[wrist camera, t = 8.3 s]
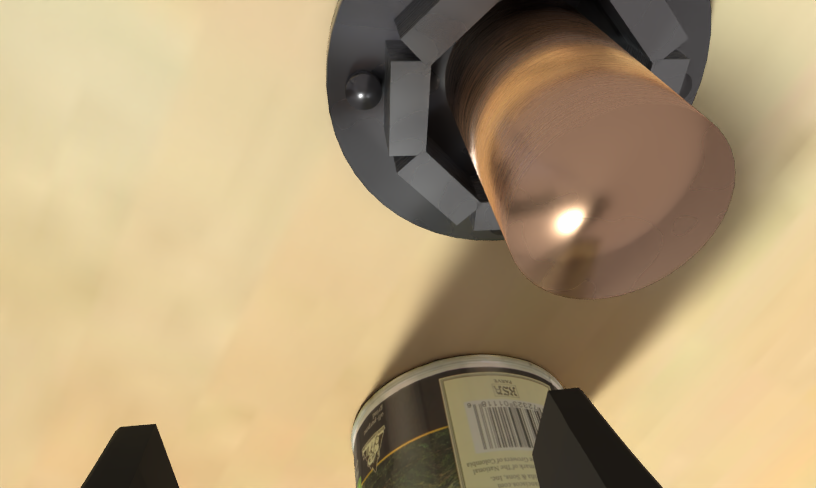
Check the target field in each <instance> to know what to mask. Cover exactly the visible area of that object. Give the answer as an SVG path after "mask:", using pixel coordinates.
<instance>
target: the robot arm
mask: <svg viewBox="0 0 816 488" xmlns="http://www.w3.org/2000/svg"><path fill="white" fill-rule="evenodd" d="M532 456H533V461H534V465H535V469H536V474H537V478H538V482H539V487H540V488H663V487H662V486H661V485H660V484H659V483H658V482H657V481H656V480H655V478H654V477H653V476H652V475H651V474H650V473H649V472H648V470H647V469H646V468H645V467H644V466H643V465H642V464H641V462H640V461H639V460H638V459H637V458H636V457H635V455H634V454H633V453H632V452H631V451H630V449H629V448H628V447H627V446H626V445H625V443H624V442H623V441H622V440H621V439H620V437H619V436H618V435H617V434H616V433H615V431H614V430H613V429H612V428H611V426H610V425H609V424H608V423H607V421H606V420H605V419H604V418H603V416H602V415H601V414H600V413H599V411H598V410H597V409H596V408H595V406H594V405H593V404H592V403H591V401H590V400H589V399H588V398H587V396H586V395H585V394H584V392H583V391H582V390H580V389H579V388H571V389H559V390H548V392H547V396H546V400H545V404H544V408H543V412H542V416H541V420H540V424H539V428H538V432H537V436H536V440H535V444H534V448H533V452H532ZM81 488H179V486H178V483H177V480H176V478H175V475H174V472H173V469H172V467H171V464H170V461H169V459H168V456H167V453H166V450H165V448H164V445H163V442H162V439H161V437H160V434H159V431H158V429H157V426H156V424H150V425H139V426H127V427H120V428H119V429H118V430H116V431H115V433H114V434H113V436H112V438H111V439H110V441H109V443H108V444H107V446H106V448H105V449H104V451H103V453H102V454H101V456H100V457H99V459H98V461H97V462H96V464H95V466H94V467H93V469H92V470H91V472H90V474H89V475H88V477H87V478H86V480H85V482H84V483H83V485H82V486H81Z"/></svg>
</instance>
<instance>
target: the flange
mask: <svg viewBox="0 0 816 488" xmlns="http://www.w3.org/2000/svg"><path fill="white" fill-rule="evenodd" d="M500 1H502V0H338V3H337V7H336V10H335V14H334V17H333V20H332V24H331V28H330V34H329V41H328V47H327V63H326V87H327V96H328V105H329V113H330V116H331V120H332V124H333V128H334V132H335V135H336V138H337V140H338V142H339V145H340V147H341V150H342V152H343V154H344V156H345V158H346V160H347V161H348V163H349V165H350V166H351V168H352V170H353V171H354V173H355V175H356V176H357V177H358V178H359V180H360V181H361V182H362V183H363V185H364V186H365V187H366V188H367V190H368V191H369V192H370V193H371V194H373V195H374V196H375V197H376V198H377V199H378V200H379V201H380V202H381V203H382V204H383V205H385V206H386V207H387V208H389V209H390V210H392V211H393V212H394V213H396V214H397V215H399V216H400V217H402V218H404V219H406V220H408V221H409V222H411V223H413V224H415V225H417V226H419V227H422V228H425V229H427V230H430V231H433V232H435V233H439V234H443V235H447V236H451V237H455V238H462V239H470V240H505V238H504V236H503V234H502V231H501V229H500V226H499V224H498V222H497V219H496V217H495V215H494V212H493V210H492V207H491V205H490V203H489V200H488V198H487V196H486V193H485V191H484V188H483V186H482V184H481V181H480V179H479V176H478V174H477V172H476V169H475V167H474V165H473V162H472V160H471V157H470V155H469V153H468V150H467V148H466V146H465V143H464V141H463V138H462V136H461V134H460V131H459V129H458V127H457V124H456V122H455V119H454V117H453V115H452V112H451V110H450V107H449V105H448V102H447V98H446V93H445V71H446V65H447V62H448V58H449V55H450V53H451V50H452V48H453V46H454V44H455V42H456V41H457V40H458V39H459V38H460V37H461V36H462V35H464V34H465V33H466V32H467V31H468V30H469V29H470V28H471V27H472V26H473V25H474V24H475V23H476V22H477V21H478V20H479V19H480V18H482V17H483V16H484V15H485V14H486V13H487V12H488V11H489V10H490V9H491V8H492V7H493V6H494V5H495V4H496V3H498V2H500ZM562 1H564V2H566V3H568V4H569V5H571V6H572V7H574V8H575V9H576V10H577V11H579V12H580V13H581V14H582V15H583V16H585V17H586V18H587V19H588V20H589V21H591V22H592V23H593V24H594V25H595V26H597V27H598V28H599V29H600V30H601V31H603V32H604V33H605V34H606V35H607V36H609V37H610V38H611V39H612V40H613V41H615V42H616V43H617V44H618V45H619V46H621V47H622V48H623V49H624V50H625V51H627V52H628V53H629V54H630V55H631V56H633V57H634V58H635V59H636V60H637V61H639V62H640V63H641V64H642V65H643V66H645V67H646V68H647V69H648V70H649V71H651V72H652V73H653V74H654V75H655V76H657V77H658V78H659V79H660V80H661V81H663V82H664V83H665V84H666V85H667V86H669V87H670V88H671V89H672V90H673V91H675V92H676V93H677V94H678V95H679V96H681V97H682V98H683V99H684V100H685V101H687V102H688V103H689V104H690V105H691V106H692V103H693V101H694V98H695V96H696V93H697V91H698V88H699V86H700V83H701V79H702V76H703V72H704V69H705V65H706V61H707V56H708V49H709V43H710V36H711V4H710V0H562Z"/></svg>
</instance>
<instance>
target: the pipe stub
mask: <svg viewBox="0 0 816 488" xmlns="http://www.w3.org/2000/svg"><path fill="white" fill-rule="evenodd" d="M445 93H446V98H447V102H448V105H449V107H450V110H451V112H452V115H453V117H454V119H455V122H456V124H457V127H458V129H459V131H460V134H461V136H462V138H463V141H464V143H465V146H466V148H467V150H468V153H469V155H470V157H471V160H472V162H473V165H474V167H475V169H476V172H477V174H478V176H479V179H480V181H481V184H482V186H483V188H484V191H485V193H486V196H487V198H488V200H489V203H490V205H491V207H492V210H493V212H494V215H495V217H496V219H497V222H498V224H499V226H500V229H501V231H502V234H503V236H504V238H505V241H506V243H507V245H508V248H509V250H510V253H511V255H512V257H513V260H514V262H515V263H516V265H517V267H518V268H519V270H520V271H521V272H522V273H523V274H524V275H525V276H526V278H527V279H529V280H530V281H531V282H532V283H534V284H535V285H536V286H538V287H540V288H542V289H544V290H545V291H548V292H550V293H553V294H556V295H559V296H563V297H567V298H575V299H601V298H609V297H614V296H619V295H623V294H626V293H630V292H633V291H636V290H638V289H641V288H644V287H646V286H648V285H650V284H652V283H655V282H657V281H659V280H660V279H662V278H664V277H665V276H667V275H669V274H671V273H672V272H673V271H675V270H676V269H678V268H679V267H681V266H682V265H683V264H684V263H686V262H687V261H688V260H689V259H690V258H692V257H693V256H694V255H695V254H696V253H697V252H698V251H699V250H700V249H701V248H702V247H703V246H704V245H705V243H706V242H707V241H708V240H709V239H710V237H711V236H712V235H713V233H714V232H715V230H716V229H717V227H718V226H719V224H720V223H721V221H722V219H723V217H724V215H725V213H726V211H727V209H728V206H729V203H730V201H731V198H732V194H733V189H734V184H735V164H734V158H733V154H732V151H731V148H730V146H729V144H728V142H727V140H726V138H725V137H724V135H723V134H722V133H721V131H720V130H719V129H718V128H717V127H716V126H715V125H714V124H713V123H712V122H711V121H709V120H708V119H707V118H706V117H705V116H703V115H702V114H701V113H700V112H699V111H697V110H696V109H695V108H694V107H693V106H691V105H690V104H689V103H688V102H687V101H685V100H684V99H683V98H682V97H681V96H679V95H678V94H677V93H676V92H675V91H673V90H672V89H671V88H670V87H669V86H667V85H666V84H665V83H664V82H663V81H661V80H660V79H659V78H658V77H657V76H655V75H654V74H653V73H652V72H651V71H649V70H648V69H647V68H646V67H645V66H643V65H642V64H641V63H640V62H639V61H637V60H636V59H635V58H634V57H633V56H631V55H630V54H629V53H628V52H627V51H625V50H624V49H623V48H622V47H621V46H619V45H618V44H617V43H616V42H615V41H613V40H612V39H611V38H610V37H609V36H607V35H606V34H605V33H604V32H603V31H601V30H600V29H599V28H598V27H597V26H595V25H594V24H593V23H592V22H591V21H589V20H588V19H587V18H586V17H585V16H583V15H582V14H581V13H580V12H579V11H577V10H576V9H575V8H574V7H572V6H571V5H569V4H568V3H566V2H564V1H562V0H502V1H500V2H498V3H496V4H495V5H494V6H493V7H492V8H491V9H490V10H489V11H488V12H487V13H486V14H485V15H484V16H483V17H482V18H480V19H479V20H478V21H477V22H476V23H475V24H474V25H473V26H472V27H471V28H470V29H469V30H468V31H467V32H466V33H465V34H464V35H462V36H461V37H460V38H459V39H458V40H457V41H456V42H455V44H454V46H453V48H452V50H451V53H450V55H449V58H448V62H447V65H446V71H445Z"/></svg>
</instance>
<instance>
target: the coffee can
mask: <svg viewBox="0 0 816 488" xmlns="http://www.w3.org/2000/svg"><path fill="white" fill-rule="evenodd" d="M559 389H563V387H562V386H561V384H560V383H559V382H558V381H557V380H556V378H555V377H553V376H552V375H551V374H550V373H549V372H547V371H546V370H544V369H543V368H541V367H539V366H537V365H535V364H533V363H530V362H528V361H525V360H521V359H516V358H511V357H507V356H499V355H467V356H458V357H453V358H448V359H442V360H437V361H434V362H432V363H430V364H427V365H424V366H420V367H418V368H415V369H412V370H411V371H409V372H407V373H404V374H402V375H400V376H398V377H397V378H395V379H393V380H392V381H390V382H389V383H387V384H386V385H385V386H383V387H382V388H381V389H379V390H378V391H377V392H376V393H375V394H374V395H373V396H372V397H371V398H370V399H369V400H368V401H367V402H366V403H365V404H364V406H363V407H362V409H361V410H360V412H359V414H358V416H357V418H356V420H355V422H354V425H353V430H352V435H351V443H352V450H353V454H354V466H355V478H356V488H540V487H539V482H538V478H537V474H536V469H535V465H534V461H533V456H532V452H533V448H534V444H535V440H536V436H537V432H538V428H539V424H540V420H541V416H542V412H543V408H544V404H545V400H546V396H547V392H548V390H559Z"/></svg>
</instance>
